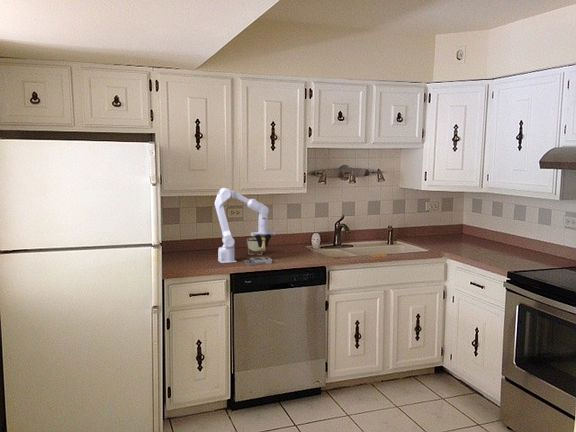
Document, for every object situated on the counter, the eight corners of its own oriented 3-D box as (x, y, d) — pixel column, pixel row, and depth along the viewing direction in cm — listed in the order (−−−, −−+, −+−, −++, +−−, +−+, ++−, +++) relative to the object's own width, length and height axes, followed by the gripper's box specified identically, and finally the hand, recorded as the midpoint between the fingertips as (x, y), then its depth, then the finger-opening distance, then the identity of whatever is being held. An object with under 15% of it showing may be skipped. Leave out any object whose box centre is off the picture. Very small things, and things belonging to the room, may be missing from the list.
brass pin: (261, 251, 311) (261, 238, 310) (258, 250, 315) (258, 237, 314) (267, 251, 313) (267, 238, 312) (264, 250, 316) (264, 237, 315)
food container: (267, 253, 334) (267, 238, 332) (264, 255, 328) (264, 239, 327) (250, 252, 338) (250, 237, 337) (246, 253, 332) (246, 238, 331)
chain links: (247, 265, 299) (247, 260, 299) (243, 262, 306) (243, 257, 306) (271, 263, 305) (271, 258, 305) (267, 260, 312) (267, 255, 312)
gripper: (254, 226, 305) (253, 248, 307) (276, 225, 311) (276, 247, 313) (250, 224, 312) (250, 246, 313) (272, 223, 317) (272, 245, 319)
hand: (262, 246), depth 313 cm, fingers closed on brass pin, 4 cm apart
